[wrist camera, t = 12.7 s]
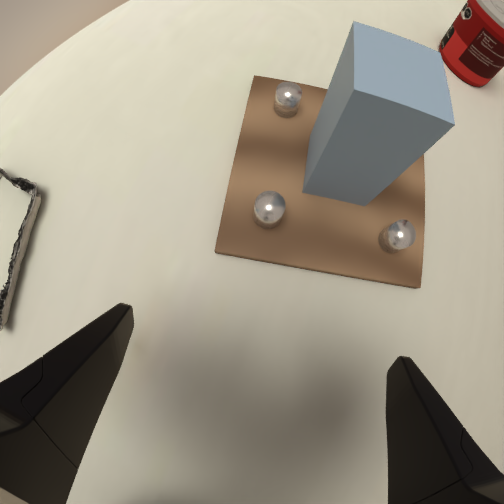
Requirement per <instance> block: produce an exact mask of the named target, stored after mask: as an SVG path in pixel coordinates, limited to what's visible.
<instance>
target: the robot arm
mask: <svg viewBox="0 0 504 504" xmlns="http://www.w3.org/2000/svg"><path fill="white" fill-rule="evenodd" d="M133 328H134V318H133V309H132V306H130V305H128V304H124V303H119V304H117V305H116V306H114V307H113V308H111V309H110V310H108V311H107V312H105V313H104V314H102V315H101V316H99V317H98V318H97V319H95V320H94V321H92V322H91V323H89V324H88V325H86V326H85V327H83V328H82V329H80V330H79V331H78V332H76V333H75V334H73V335H72V336H70V337H69V338H67V339H66V340H65V341H63V342H62V343H60V344H59V345H57V346H56V347H55V348H53V349H52V350H50V351H49V352H47V353H46V354H45V355H43V357H40V358H39V359H37V360H36V361H35V362H33V363H32V364H30V365H29V366H27V367H26V368H24V369H23V370H21V371H19V372H18V373H16V374H14V375H13V376H11V377H9V378H7V379H6V380H4V381H2V382H0V504H66V501H67V499H68V496H69V493H70V490H71V487H72V485H73V482H74V479H75V477H76V474H77V471H78V468H79V466H80V463H81V460H82V458H83V455H84V453H85V450H86V448H87V445H88V443H89V440H90V438H91V435H92V433H93V430H94V428H95V426H96V423H97V421H98V418H99V416H100V414H101V411H102V409H103V407H104V404H105V402H106V400H107V397H108V395H109V393H110V390H111V388H112V386H113V384H114V381H115V379H116V377H117V375H118V373H119V370H120V368H121V365H122V362H123V359H124V356H125V352H126V349H127V346H128V343H129V340H130V337H131V334H132V331H133ZM386 427H387V448H388V504H504V475H503V474H502V473H501V472H500V471H499V470H498V469H497V467H496V466H495V465H494V464H493V463H492V462H491V460H490V459H489V458H488V457H487V456H486V455H485V453H484V452H483V451H482V450H481V449H480V447H479V446H478V445H477V444H476V443H475V441H474V440H473V439H472V437H471V436H470V435H469V433H468V432H467V431H466V429H465V428H464V427H463V425H462V424H461V423H460V421H459V420H458V419H457V417H456V416H455V415H454V413H453V412H452V411H451V409H450V408H449V407H448V405H447V404H446V403H445V401H444V400H443V399H442V397H441V396H440V395H439V394H438V392H437V391H436V390H435V388H434V387H433V386H432V384H431V383H430V382H429V381H428V379H427V378H426V377H425V376H424V374H423V373H422V372H421V370H420V369H419V368H418V367H417V365H416V364H415V363H414V362H413V360H412V359H411V358H410V357H405V356H399V357H398V358H397V359H396V360H395V362H394V363H393V364H392V366H391V367H390V368H389V370H388V372H387V387H386Z"/></svg>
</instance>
